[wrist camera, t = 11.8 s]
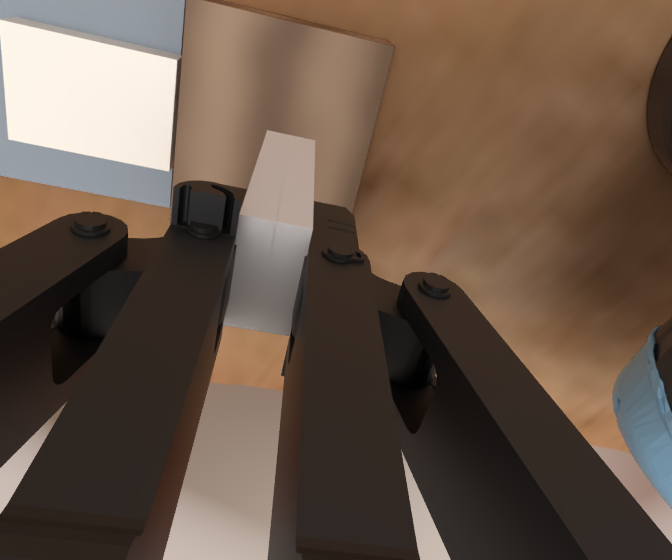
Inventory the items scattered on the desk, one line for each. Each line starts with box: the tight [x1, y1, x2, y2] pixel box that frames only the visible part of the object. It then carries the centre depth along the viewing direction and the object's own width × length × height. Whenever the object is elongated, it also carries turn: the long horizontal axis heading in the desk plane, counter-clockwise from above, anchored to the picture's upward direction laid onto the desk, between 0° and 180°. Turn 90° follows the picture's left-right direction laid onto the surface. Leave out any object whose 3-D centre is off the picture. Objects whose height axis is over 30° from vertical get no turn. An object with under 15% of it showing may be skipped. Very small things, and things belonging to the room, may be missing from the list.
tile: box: [0, 17, 182, 172], centre depth 34 cm, size 10×7×2 cm
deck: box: [170, 0, 395, 224], centre depth 35 cm, size 12×14×3 cm
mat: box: [0, 0, 186, 208], centre depth 34 cm, size 14×14×1 cm
